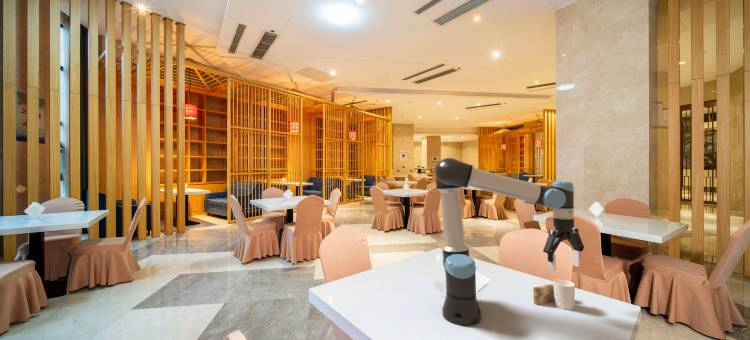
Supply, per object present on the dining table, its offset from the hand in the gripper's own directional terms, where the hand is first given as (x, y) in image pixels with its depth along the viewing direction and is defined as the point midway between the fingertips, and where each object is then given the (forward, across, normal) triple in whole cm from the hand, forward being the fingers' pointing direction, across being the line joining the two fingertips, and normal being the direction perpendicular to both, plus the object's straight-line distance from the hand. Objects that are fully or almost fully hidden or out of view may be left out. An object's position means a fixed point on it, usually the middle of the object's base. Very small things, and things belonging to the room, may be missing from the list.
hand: (564, 267), depth 124 cm
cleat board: (+17, -1, +5) cm, 18 cm away
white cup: (+17, 0, +1) cm, 17 cm away
